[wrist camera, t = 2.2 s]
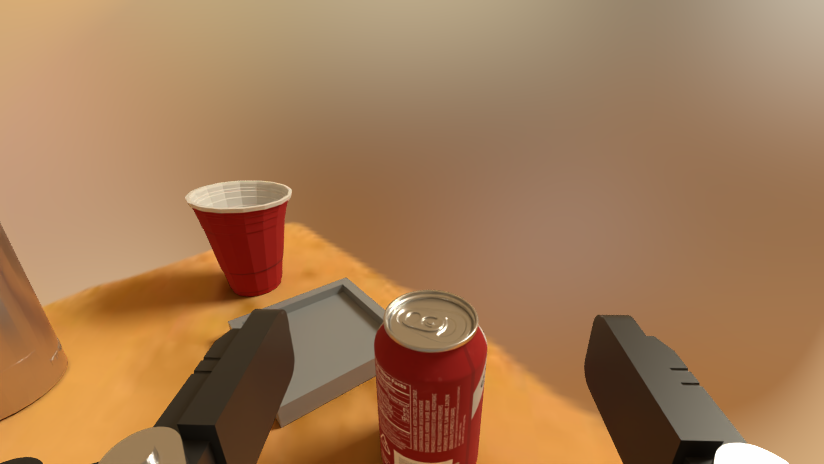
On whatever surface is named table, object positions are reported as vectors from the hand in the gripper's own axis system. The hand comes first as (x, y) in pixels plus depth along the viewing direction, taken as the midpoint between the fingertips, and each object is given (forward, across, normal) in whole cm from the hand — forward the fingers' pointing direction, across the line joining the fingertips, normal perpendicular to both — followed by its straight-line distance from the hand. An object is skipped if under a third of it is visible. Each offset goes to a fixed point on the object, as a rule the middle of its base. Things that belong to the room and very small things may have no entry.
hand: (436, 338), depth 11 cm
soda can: (+11, 0, +20) cm, 22 cm away
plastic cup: (+32, +21, +19) cm, 43 cm away
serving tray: (+22, +11, +19) cm, 31 cm away
